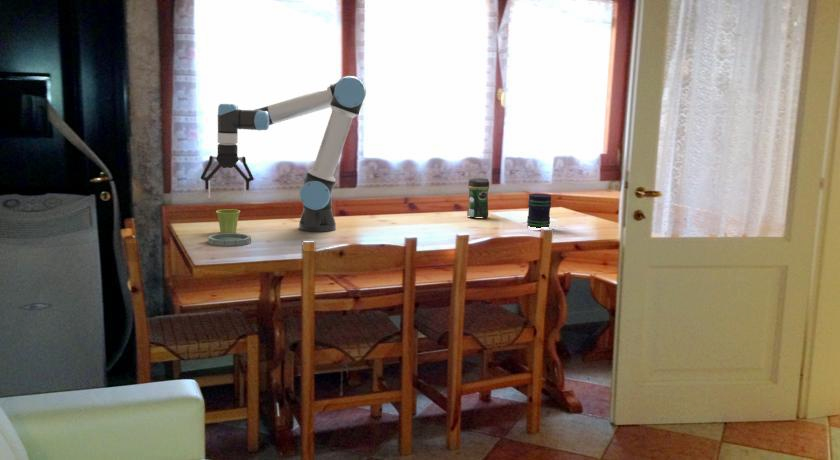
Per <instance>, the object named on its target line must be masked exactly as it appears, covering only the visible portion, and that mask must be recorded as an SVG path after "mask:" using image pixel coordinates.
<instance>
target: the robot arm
mask: <svg viewBox="0 0 840 460" xmlns="http://www.w3.org/2000/svg"><path fill="white" fill-rule="evenodd" d="M366 94H367V89H366V85H365V83H364V81H363V80H361V78H359V77H357V76H354V75H346V76H343V77H341V78H340V79H339V80H338V81H337V82H334V83H331V84H328V86H327V88H324V89H321V90H316V91H313V92H311V93H308V94H304V95H300V96H297V97H293V98H289V99H286V100H284V101H280V102H277V103H273V104H269V105H267V106H263V107H260V108H255V109H239V107H238V104H236V103H235V104H233V103H220V104H219V105H218V107H217V143H218V145H217V154H216V155H217V156H215V155H214V156H213V155H210V156H209V158H208V162H207V164H206V166H205V168H204V170H203V172H202V174H201V175H200V179H201V180H202V181H204V182H205V183H204V184H205V186H204V187H205V190H207V191H208V195H207V196H208V199H211V180H210V179H211V178H212V177H213V176H214V175H215V174H216V173H217V171H219V170H220V168H223V169H226V168H227V169H233V168H234V169H235V170H236V171H237V172H238V173H239V175H241V177H242V178H243V179H244V181H243V199H247V191H248V190H249V189H250V182H251V181H254V179H255V178H254V177H253V176H254V175H253V174H252V172H251V169H250V167H249V166H248V164H247V161H246V157H245V156H241V157H239V156H238V145H237V144H238V139H239V138H238V134H239V133H238V130H251V131H258V132H259V131H267V130H268V129H269V127H270V126H272V125H274V124H279V123H281V122H285V121H289V120H292V119H295V118H298V117H302V116H305V115H309V114H312V113H315V112H319V111H322V110H326V109H329V108H330V109H331V114H330V116H329V119H328V122H327V125H326V128H325V131H324V134H323V138H322V141H321V142H320V146H319V149H318V151H317V154H316V158H315V161H314V164H313V167H312V168H311V169H309V170H308V171H307V173H305V174H304V176H303V184H302V187H301V188H300V191H299V199H300V201H301V203H302V204H303V211H302V214H301V216H300V220H299V223H298V227H299V228H298V229H299V230H301V231H306V232H331V231H335V230H336V228H337V224H336V219H335V217H334V216H335V215H334V214H333V209H332V208H333V190H334V187H335V185H336V181H337V180H336V178H335V176H334V175H335V173H336V172H335V171H336V170H337V166H338V163H339V161H340V159H341V155H342V152H343V148H344V146H345V143H346V140H347V138H348V135H349V131H350V128H351V125H352V123H353V119H355V118H356V117H358V116H359V114H360V113H361V112H360V111H361V109H362V106H363V102H364V100H365V98H366ZM215 161H217V162H218V163H217V164H216V166H215V167H214V168H213V169H212V171H210V173H209V174H208V175H207V173H208V172H209V170H210V168H211V165H212V164H213V163H214V162H215ZM239 161H240V163H242V164H243V167H244V169H245V171H246V173H247V175H248V176H249V177H247V175H246V174H245V173H244V172H243V170H242V169H241V168H240V167H239V166H238V164H237V163H238V162H239ZM206 175H207V176H206Z"/></svg>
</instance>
